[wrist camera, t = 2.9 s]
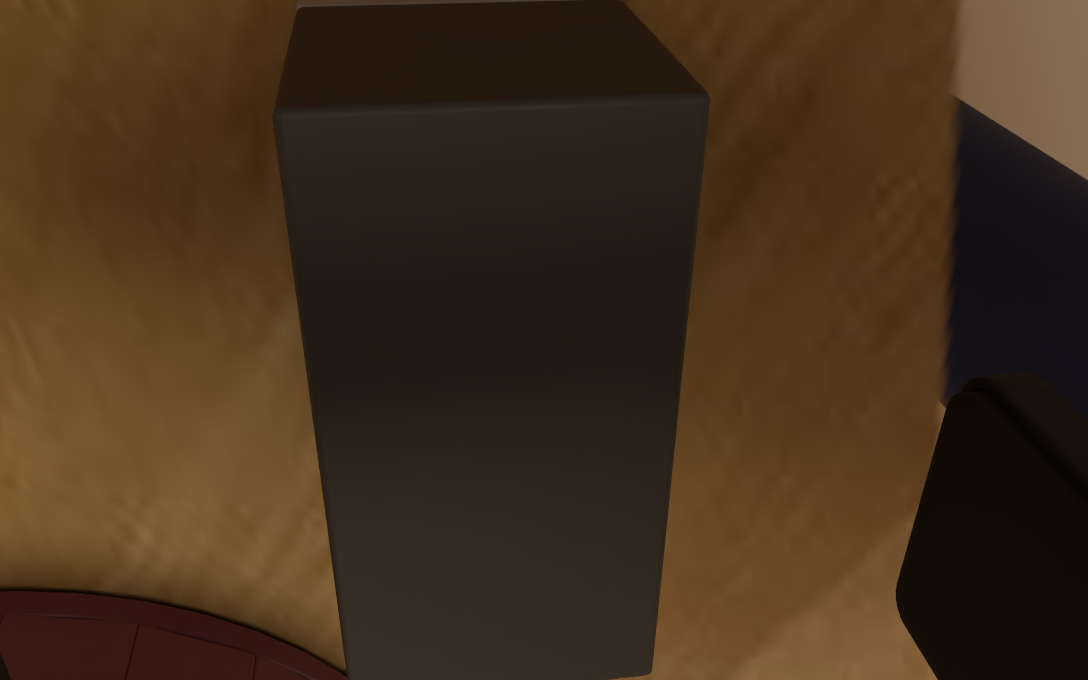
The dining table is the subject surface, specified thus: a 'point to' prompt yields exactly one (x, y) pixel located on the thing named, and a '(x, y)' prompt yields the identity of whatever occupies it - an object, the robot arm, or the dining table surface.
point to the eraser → (492, 324)
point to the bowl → (138, 642)
